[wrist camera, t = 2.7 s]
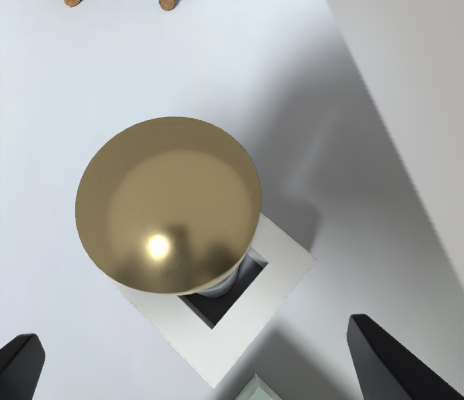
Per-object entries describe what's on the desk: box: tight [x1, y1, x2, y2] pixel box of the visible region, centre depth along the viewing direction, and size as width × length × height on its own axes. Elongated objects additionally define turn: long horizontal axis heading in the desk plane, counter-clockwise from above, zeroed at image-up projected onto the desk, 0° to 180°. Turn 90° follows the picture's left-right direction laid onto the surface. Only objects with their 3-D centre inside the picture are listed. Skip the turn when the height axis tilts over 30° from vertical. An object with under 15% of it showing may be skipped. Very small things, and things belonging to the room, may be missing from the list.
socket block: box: [101, 212, 317, 389], centre depth 18 cm, size 8×8×3 cm
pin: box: [75, 117, 261, 297], centre depth 13 cm, size 4×4×14 cm
